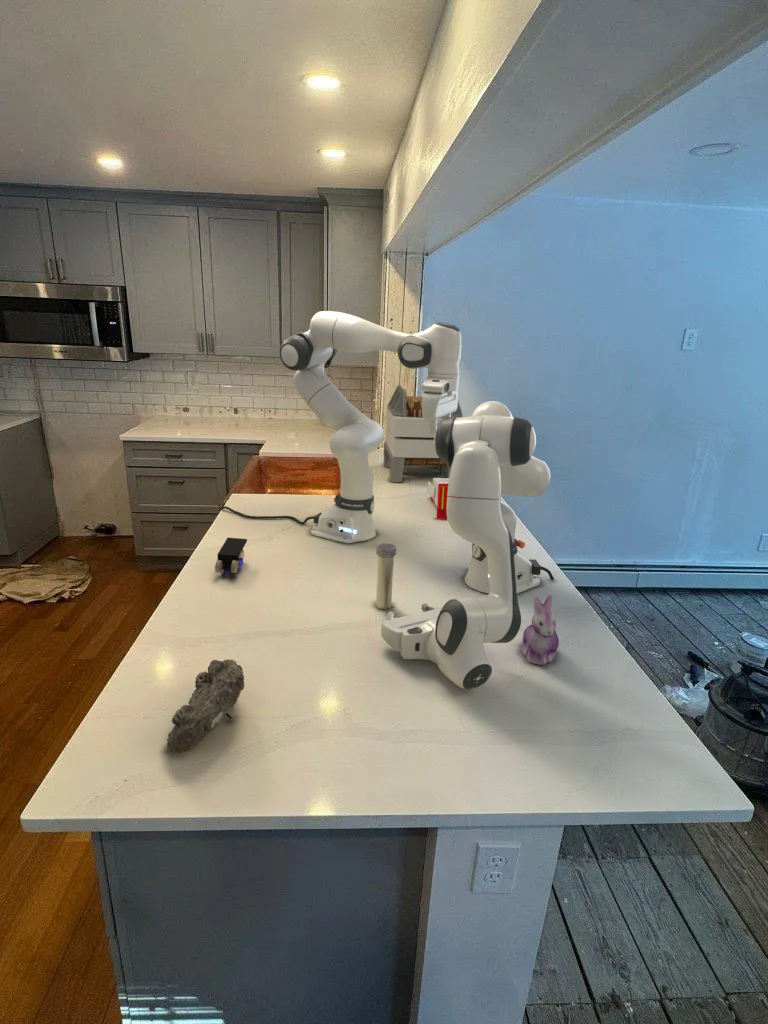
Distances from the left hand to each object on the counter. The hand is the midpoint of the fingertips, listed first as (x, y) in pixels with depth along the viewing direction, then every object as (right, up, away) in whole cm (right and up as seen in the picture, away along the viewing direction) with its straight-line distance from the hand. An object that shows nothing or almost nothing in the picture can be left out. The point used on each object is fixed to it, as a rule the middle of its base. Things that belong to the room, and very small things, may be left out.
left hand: (439, 431), depth 166 cm
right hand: (-10, -48, -27) cm, 56 cm away
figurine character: (-61, -41, +1) cm, 73 cm away
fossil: (-49, -63, -58) cm, 99 cm away
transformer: (+1, -5, +109) cm, 109 cm away
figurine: (+20, -57, -34) cm, 69 cm away
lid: (-16, -33, -20) cm, 42 cm away
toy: (+8, -22, +62) cm, 67 cm away
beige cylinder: (-16, -49, -15) cm, 53 cm away
